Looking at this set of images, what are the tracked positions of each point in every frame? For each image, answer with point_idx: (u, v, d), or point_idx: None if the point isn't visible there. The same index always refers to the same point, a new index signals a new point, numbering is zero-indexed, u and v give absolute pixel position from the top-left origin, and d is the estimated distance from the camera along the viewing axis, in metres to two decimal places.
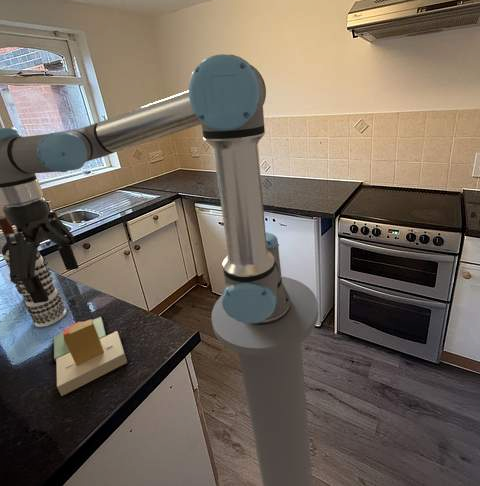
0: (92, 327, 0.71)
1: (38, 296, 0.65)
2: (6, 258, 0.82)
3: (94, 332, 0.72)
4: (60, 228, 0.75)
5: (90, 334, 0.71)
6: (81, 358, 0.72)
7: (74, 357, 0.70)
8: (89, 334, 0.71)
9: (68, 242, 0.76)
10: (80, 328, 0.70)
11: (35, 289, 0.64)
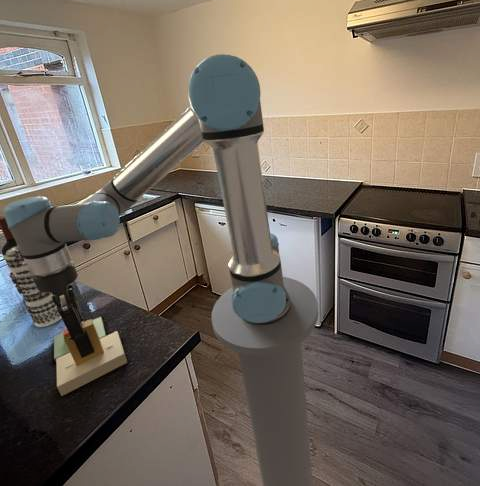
0: (92, 327, 0.71)
1: (86, 349, 0.71)
2: (6, 258, 0.82)
3: (94, 332, 0.72)
4: None
5: (90, 334, 0.71)
6: (81, 358, 0.72)
7: (74, 357, 0.70)
8: (89, 334, 0.71)
9: (82, 318, 0.73)
10: None
11: (86, 343, 0.70)
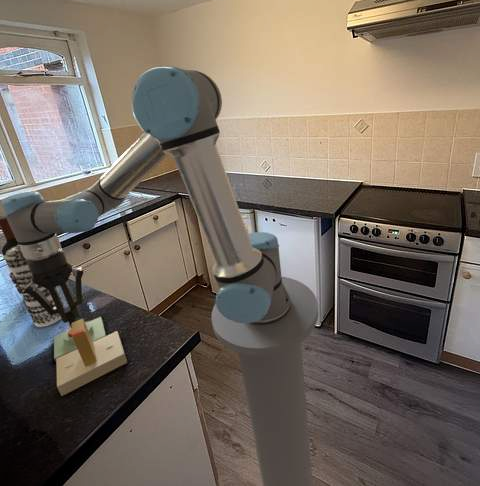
0: None
1: None
2: (6, 258, 0.82)
3: None
4: (43, 295, 0.77)
5: (86, 328, 0.73)
6: (94, 353, 0.73)
7: (93, 352, 0.71)
8: (86, 328, 0.73)
9: None
10: (81, 324, 0.71)
11: None
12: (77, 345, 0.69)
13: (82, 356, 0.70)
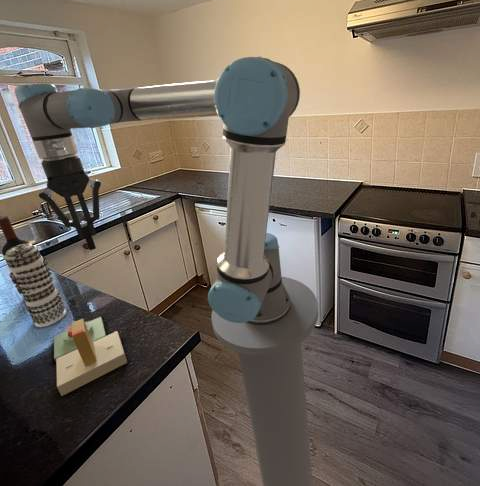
0: None
1: None
2: (6, 258, 0.82)
3: None
4: None
5: (86, 328, 0.73)
6: (94, 353, 0.73)
7: (93, 352, 0.71)
8: (86, 328, 0.73)
9: None
10: (81, 324, 0.71)
11: None
12: (77, 345, 0.69)
13: (82, 356, 0.70)
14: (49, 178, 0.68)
